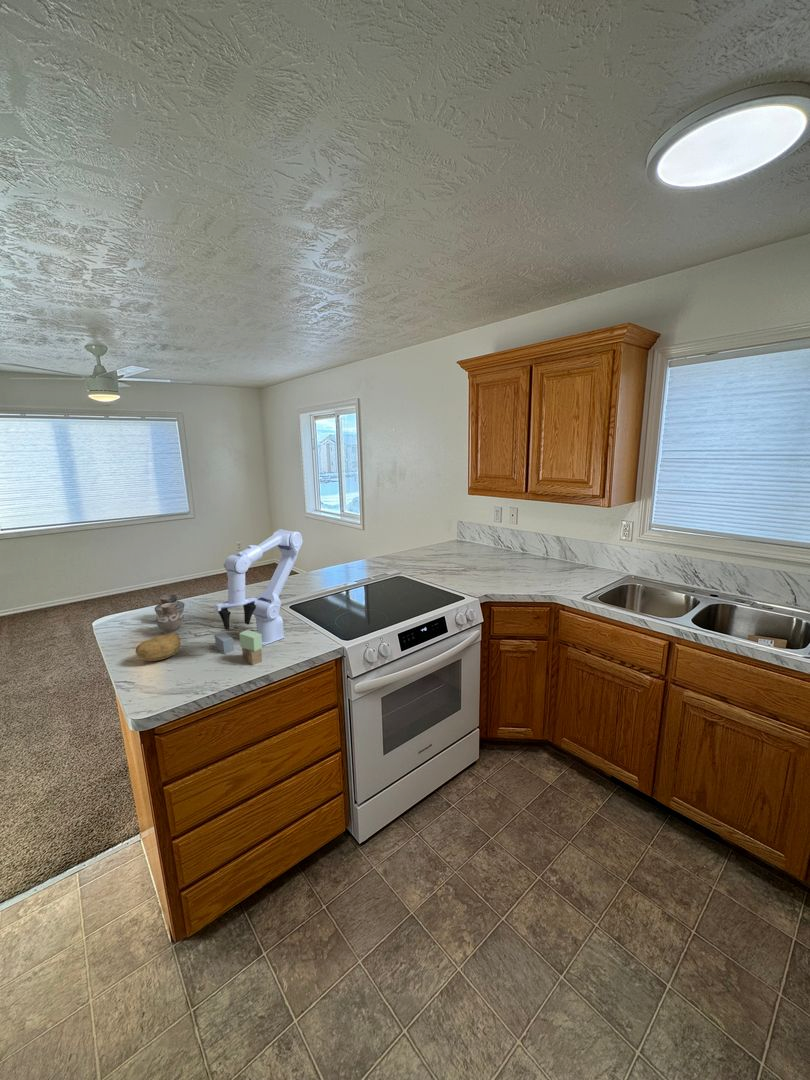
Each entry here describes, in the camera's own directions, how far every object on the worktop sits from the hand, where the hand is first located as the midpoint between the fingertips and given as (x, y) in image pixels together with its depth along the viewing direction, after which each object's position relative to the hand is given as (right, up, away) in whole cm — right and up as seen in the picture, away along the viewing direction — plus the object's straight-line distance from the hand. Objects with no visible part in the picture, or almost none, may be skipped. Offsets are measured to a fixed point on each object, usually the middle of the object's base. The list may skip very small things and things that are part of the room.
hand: (237, 626), depth 155 cm
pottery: (-37, -5, +25) cm, 45 cm away
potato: (-26, -11, -2) cm, 29 cm away
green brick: (+6, -7, -4) cm, 10 cm away
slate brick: (-7, -10, +5) cm, 13 cm away
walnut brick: (+6, -11, -3) cm, 13 cm away
